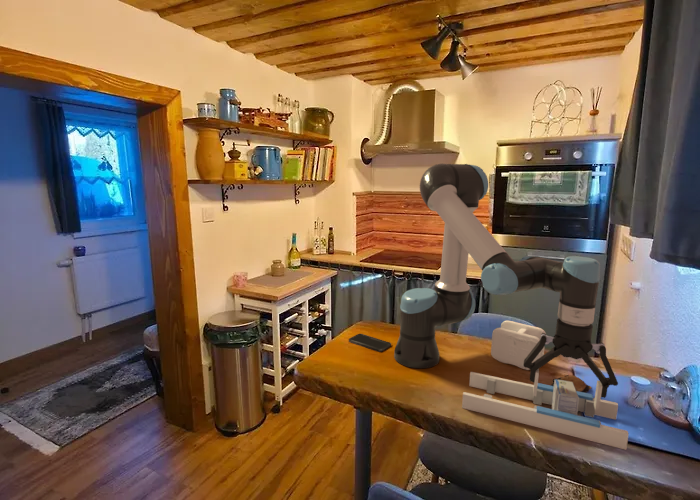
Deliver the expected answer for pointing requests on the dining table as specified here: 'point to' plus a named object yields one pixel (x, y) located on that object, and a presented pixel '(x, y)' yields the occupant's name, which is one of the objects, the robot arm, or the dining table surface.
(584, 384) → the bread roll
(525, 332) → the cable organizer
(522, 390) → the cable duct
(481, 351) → the dining table surface
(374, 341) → the phone
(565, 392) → the medicine box
